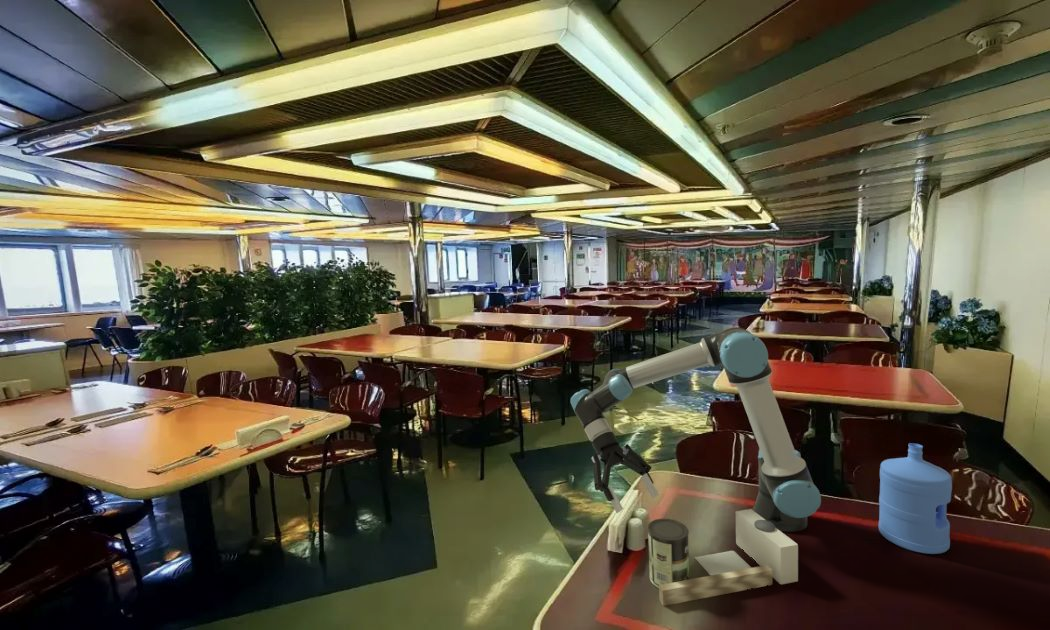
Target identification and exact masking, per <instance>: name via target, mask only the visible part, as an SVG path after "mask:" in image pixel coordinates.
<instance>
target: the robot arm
mask: <svg viewBox="0 0 1050 630" xmlns="http://www.w3.org/2000/svg"><path fill="white" fill-rule="evenodd" d="M768 352H769V351H768V349H767V347H766V345H765V343H764V342H763V341H762V339H760V338H759V337H758V336H757V335H755V334H753V333H751V332H750V331H748V329H745V328H743V327H738V326H737V327H730V328H726V329H723V330H721V331H718V332H715V333H713V334H711V335H708V336H704V337H702V338H701V340H700V341H699V342H697V343H695V344H691V345H688V346H685V347H681V348H680V349H679V348H678V349H675V350H672V351H669V352H668V353H665V354H660V355H659V356H655V357H652V358H649V359H646V360H643V361H641V362H638V363H635V364H631V365H629V366H626V367H622V368H613V369H611V370H609V371H608V372H607V373H606V374H605V376H604V379H603V382H602V384H601V385H600V386H598V387H597V388H596V389H594V390H593V391H590V390H589V389H586V388H585V389H580V391H577V392H575V393H574V394H573V395H572V396H571V397H570V404H571V407H572V409H573V411H574V414H575V415H576V417H577V419H578V421H579V422H580V424H581V425H582V427H583V430H584V432H585V434H586V436H587V437H588V439H589V441H590V442H591V445H592V447H593V449H594V451H595V453H594V454H593V456H592V457H590V461H591V464H592V468H593V471H592V472H593V483H594V490H595V491H600V492H601V493H603V494H604V496H605V498H606V500H607V501H608V502H610V503H611V505H612V507H613V509H614V511H615V512H616V514H618V513H620V512H621V511H622V510H624V508H623V506H622V504H621V502H620V500H619V498H618V495H616V492H615V490H614V489H613V486H612V485H611V486H609V484H610V476H611V469H612V468H613V467H615V466H619V465H622V466H625V467H627V468H629V470H630V469H631V470H632V471H633V472H635V473H636V474H638V475H640V476H641V477H640V480H641V481H642V484H643V485H644V486H645V489H646V490H647V492H648V494H649V496H650V498H651V499H652V500H653V499H654V498H656V497H657V496H659V492H658V490H657V489H656V487H655V485H654V481H653V479H652V477H651V475H650V473H649V472H650V470H652V466H651V465H650V464H649V463H648V462H647V461H646V460H644V458H642V457H641V456H640V455H639V454H638V453H636V452H635V451H634V450H633V448H631V446H630V445H629V444H628V443H626V444H625V445H624V446H622V447H621V446H620V445H619V440H618V438H617V436H616V435H615V433H614V432H613V431H612V430H613V429H612V428H611V426H610V424H609V423H608V421H607V419H606V417H605V416H604V413H606V412H608V411H609V410H611V409H612V408H614V406H615V407H616V406H617V405H618V404H619V403H621V402H623V401H625V400H626V399H627V398H628V397H630V396H631V395H632V394H633V392H634V391H633V390H634V389H636V388H639V387H642V386H645V385H649V384H651V383H655V382H658V381H661V380H664V379H668V378H671V377H674V376H677V375H680V374H683V373H686V372H689V371H693V370H696V369H699V368H702V367H705V366H711V367H716V366H719V365H722V366H723V369H724V372H725V374H726V377H727V380H728V383H729V384H730V385H733V386H734V387H736V388H737V391H738V393H739V396H740V399H741V403H742V404H743V407H744V411H745V412H746V414H747V417H748V421H749V424H750V426H751V429H752V432H753V435H754V437H755V440H756V443H757V444H758V448H759V449H758V456H757V459H758V494H757V495H756V499H755V502H754V504H753V506H752V510H753V511H754V512H756V513H757V514H758V515H760V516H761V517H762V518H764V519H765V520H766V521H769V522H771V523H773V524H774V525H775V528H777V529H778V530H779V531H781V532H790V533H795V532H800V531H803V530H805V529H806V528H807V527H808V517H810V516H811V515H813V514H815V513H816V512H817V511H818V509H819V508H820V507H821V503H822V497H821V493H820V490H819V488H817V487H818V486H816V485H815V484H814V482H813V479H812V476H811V474H810V471H809V469H808V468H809V467H808V466H807V463H806V461H805V459H803V458H802V457H801V453H800V452H799V451H798V450H797V449H795V447H794V445H793V442H792V439H791V437H790V433H789V432H788V431H789V430H788V429H787V425H786V423H785V420H784V418H783V414H782V412H781V409H780V407H779V403H778V401H777V398H776V395H775V393H774V391H773V388H772V385H771V382H770V377H771V375H772V373H773V370H772V368H771V365H770V362H769V353H768ZM601 462H602V463H603V468H602V467H601ZM602 469H603V471H602Z"/></svg>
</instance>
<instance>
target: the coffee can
mask: <svg viewBox="0 0 1050 630" xmlns="http://www.w3.org/2000/svg"><path fill="white" fill-rule="evenodd" d="M646 530H647V534H648V535H647V538H648V540H647V541H648V563H649V564H648V565H649V566H648V567H649V580H650V582H651V583H652V585H653V586H654V587H656V588H657V589H659V585H663V584H668V583H673V582H679V581H684V580H689V579H690V565H689V564H690V561H689V560H690V559H689V557H690V556H689V554H690V553H689V534H690V533H689V529H688V527H687V525H686V524H683V523H682V522H681V521H679V520H676V519H671V518H656V519H654V520H651V521H650V522H649V523H648V524H647V529H646Z"/></svg>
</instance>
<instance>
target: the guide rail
mask: <svg viewBox="0 0 1050 630" xmlns="http://www.w3.org/2000/svg"><path fill="white" fill-rule="evenodd" d="M767 585H768V586H772V585H773V577H772V569H771V568H770V567H768V566H767V565H764V566H760V565H759V566H754V567H751V568H748V569H743V570H738V571H732V572H727V573H722V574H716V575H711V576H710V575H706V576H701V577H695V578H689V580H684V581H679V582H673V583H668V584H663V585H659V588H658V593H659V594H658V595H659V596H658V597H659V598H658V599H659V602H660V603H661V605H662V606H663V607H665V606H669V605H675V604H679V603H680V604H681V603H685V602H690V601H696V600H700V599H706V598H712V597H717V596H721V595H726V594H731V593H738V592H742V591H748V590H752V589H751V588H753V589H757V588H761V587H766V586H767ZM747 589H748V590H747Z"/></svg>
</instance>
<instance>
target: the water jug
mask: <svg viewBox="0 0 1050 630" xmlns="http://www.w3.org/2000/svg"><path fill="white" fill-rule="evenodd" d="M923 448H924V446H923V445H922V444H919V443H913V442H912V443H911V442H909V443H908V449H907V452H908V453H907V457H906V456H905V457H896V458H887V459H884V460H883V461H881V463H880V466H879V467H880V468H879V479H880V482H879V497H878V504H879V511H878V513H879V515H878V517H879V520H878V531H879V533H880V534H881V535H882V536H883V537H884V538H885V539H886V540H888V541H889V542H890V543H892V544H895V545H896V546H898V547H901V548H903V549H904V550H905V549H906V550H908V551H912V552H916V553H919V554H921V553H922V554H930V555H937V554H943V553H945V552H947V551H948V550H949V549H950V546H951V539H950V534H951V533H950V531H951V530H950V529H951V523H950V521H949V520H948V519H947V510H948V509H947V505H948V504H949V503H950V502H951V500H952V491H953V481H952V476H951V474H950V473H949V472H948V471H947V470H945V469H943V468H942V467H940V466H937V465H935V464H933V463H931V462H928V461H926V460H924V459H923V453H924V452H923Z"/></svg>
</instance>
